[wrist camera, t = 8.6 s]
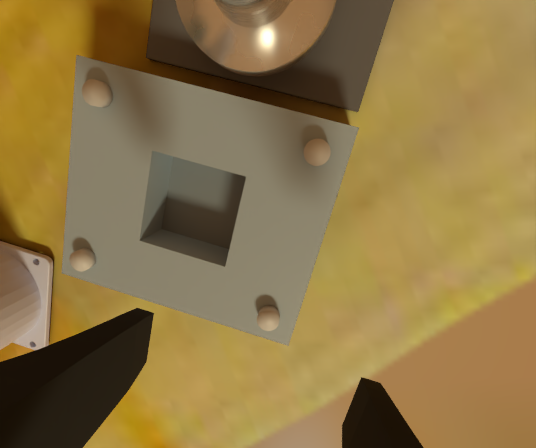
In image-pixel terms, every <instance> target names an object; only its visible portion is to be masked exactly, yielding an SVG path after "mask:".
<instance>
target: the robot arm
mask: <svg viewBox="0 0 536 448" xmlns="http://www.w3.org/2000/svg"><path fill="white" fill-rule="evenodd" d="M38 260H39V261H38ZM52 276H53V261H52V259H51V258H50V257H49V256H47V255H43V254H40V253H37V252H34V251H31V250H28V249H24V248H21V247H18V246H15V245H12V244H9V243H6V242H2V241H0V350H1V349H2V348H4V347H6V346H7V345H9V344H10V343H12V342H13V343H16V344H19V345H21V346H24V347H27V348H30V349H33V350H35V351H33V352H30V353H27V354H24V355H21V356H18V357H15V358H12V359H9V360H5V361H2V362H0V448H83V447H84V445H85V444H86V443H87V442H88V440H89V439H90V438H91V437H92V435H93V434H94V433H95V432H96V430H97V429H98V428H99V427H100V425H101V424H102V423H103V422H104V420H105V419H106V418H107V417H108V415H109V414H110V413H111V412H112V410H113V409H114V408H115V407H116V405H117V404H118V403H119V402H120V400H121V399H122V398H123V396H124V395H125V394H126V393H127V391H128V390H129V389H130V387H131V385H132V384H133V382H134V381H135V379H136V378H137V376H138V375H139V373H140V371H141V370H142V368H143V366H144V365H145V363H146V361H147V354H148V347H149V341H150V334H151V328H152V321H153V315H154V313H152V312H149V311H145V310H142V309H139V308H136V309H134V310H131V311H129V312H126V313H124V314H122V315H120V316H117V317H115V318H113V319H111V320H109V321H106V322H104V323H102V324H100V325H97V326H95V327H93V328H90V329H88V330H86V331H83V332H81V333H79V334H76V335H74V336H71V337H69V338H66V339H64V340H61V341H59V342H56V343H54V344H51V345H49V328H50V310H51V293H52ZM342 448H423V446H422V445H421V443H420V442H419V440H418V439H417V438H416V436H415V435H414V433H413V432H412V430H411V429H410V427H409V426H408V424H407V423H406V421H405V420H404V418H403V417H402V415H401V414H400V412H399V411H398V409H397V408H396V406H395V404H394V403H393V401H392V400H391V398H390V397H389V395H388V394H387V392H386V391H385V389H384V388H383V386H382V385H381V384H380V383H378V382H375V381H372V380H369V379H366V378H362V377H361V380H360V382H359V385H358V387H357V390H356V392H355V395H354V397H353V400H352V402H351V405H350V407H349V410H348V412H347V415H346V417H345V420H344V422H343V425H342Z"/></svg>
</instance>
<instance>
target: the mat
mask: <svg viewBox="0 0 536 448" xmlns="http://www.w3.org/2000/svg"><path fill="white" fill-rule="evenodd" d="M393 1H394V0H336V5H335V9H334V12H333V15H332V18H331V20H330V23H329V25H328V27H327V29H326V31H325V33H324V34H323V36H322V38H321V39H320V41H319V42H318V43H317V45H316V46H315V47H314V48H313V50H312V51H311V52H310V53H308V54H307V55H306V56H305V57H304V58H303V59H302V60H300V61H299V62H298V63H297V64H295V65H293V66H292V67H290V68H288V69H286V70H284V71H281V72H279V73H275V74H272V75H267V76H246V75H241V74H237V73H234V72H231V71H229V70H227V69H225V68H223V67H222V66H220V65H219V64H217V63H216V62H214V61H213V60H212V59H211V58H210V57H209V56H208V55H206V54H205V53H204V52H203V51H202V50H201V49H200V48H199V47H198V46H197V45H196V43H195V42H194V41H193V40H192V38H191V37H190V35H189V34H188V32H187V31H186V29H185V27H184V25H183V23H182V20H181V18H180V15H179V12H178V9H177V5H176V1H175V0H153V6H152V14H151V22H150V29H149V37H148V45H147V53H146V58H148V59H150V60H154V61H158V62H162V63H166V64H170V65H174V66H178V67H182V68H186V69H190V70H194V71H197V72H201V73H205V74H209V75H213V76H217V77H221V78H225V79H229V80H233V81H237V82H241V83H245V84H249V85H253V86H257V87H261V88H265V89H268V90H272V91H276V92H280V93H284V94H288V95H292V96H296V97H300V98H304V99H308V100H312V101H316V102H320V103H324V104H328V105H332V106H336V107H339V108H343V109H347V110H351V111H355V112H358V111H359V108H360V104H361V101H362V98H363V95H364V92H365V89H366V86H367V82H368V79H369V76H370V73H371V70H372V67H373V64H374V61H375V57H376V54H377V51H378V48H379V45H380V42H381V39H382V35H383V32H384V29H385V26H386V23H387V20H388V17H389V13H390V10H391V7H392V4H393Z"/></svg>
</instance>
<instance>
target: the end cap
mask: <svg viewBox="0 0 536 448" xmlns="http://www.w3.org/2000/svg"><path fill="white" fill-rule="evenodd" d="M175 1H176V5H177V9H178V12H179V15H180V18H181V20H182V23H183V25H184V27H185V29H186V31H187V32H188V34H189V35H190V37H191V38H192V40H193V41H194V42H195V43H196V45H197V46H198V47H199V48H200V49H201V50H202V51H203V52H204V53H205V54H206V55H208V56H209V57H210V58H211V59H212V60H213V61H214V62H216V63H217V64H219V65H220V66H222V67H223V68H225V69H227V70H229V71H231V72H234V73H237V74H241V75H246V76H267V75H272V74H275V73H279V72H281V71H284V70H286V69H288V68H290V67H292V66H293V65H295V64H297V63H298V62H299V61H300V60H302V59H303V58H304V57H305V56H306V55H307V54H308V53H310V52H311V51H312V50H313V48H314V47H315V46H316V45H317V43H318V42H319V41H320V39H321V38H322V36H323V34H324V33H325V31H326V29H327V27H328V25H329V23H330V20H331V18H332V15H333V12H334V9H335V5H336V0H175Z"/></svg>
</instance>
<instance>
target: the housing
mask: <svg viewBox="0 0 536 448" xmlns="http://www.w3.org/2000/svg"><path fill="white" fill-rule="evenodd" d="M358 129H359V128H358V127H354V126H351V125H347V124H343V123H339V122H335V121H331V120H327V119H323V118H319V117H316V116H312V115H308V114H304V113H300V112H296V111H292V110H288V109H284V108H281V107H277V106H273V105H269V104H265V103H261V102H257V101H253V100H250V99H246V98H242V97H238V96H234V95H230V94H226V93H222V92H218V91H215V90H211V89H207V88H203V87H199V86H195V85H191V84H187V83H184V82H180V81H176V80H172V79H168V78H164V77H160V76H156V75H152V74H149V73H145V72H141V71H137V70H133V69H129V68H125V67H121V66H117V65H114V64H110V63H106V62H102V61H98V60H94V59H90V58H86V57H83V56H79V55H77V56H76V71H75V86H74V100H73V115H72V130H71V145H70V160H69V174H68V189H67V204H66V219H65V234H64V248H63V263H62V273H63V274H66V275H69V276H72V277H75V278H78V279H81V280H85V281H88V282H91V283H94V284H97V285H100V286H103V287H106V288H110V289H113V290H116V291H119V292H122V293H125V294H128V295H131V296H135V297H138V298H141V299H144V300H147V301H150V302H153V303H156V304H159V305H163V306H166V307H169V308H172V309H175V310H178V311H181V312H184V313H188V314H191V315H194V316H197V317H200V318H203V319H206V320H209V321H213V322H216V323H219V324H222V325H225V326H228V327H231V328H234V329H238V330H241V331H244V332H247V333H250V334H253V335H256V336H259V337H263V338H266V339H269V340H272V341H275V342H278V343H281V344H284V345H289V342H290V339H291V336H292V333H293V330H294V327H295V324H296V321H297V317H298V314H299V311H300V308H301V305H302V302H303V299H304V296H305V293H306V290H307V287H308V283H309V280H310V277H311V274H312V271H313V268H314V265H315V262H316V259H317V256H318V253H319V250H320V246H321V243H322V240H323V237H324V234H325V231H326V228H327V225H328V222H329V219H330V216H331V212H332V209H333V206H334V203H335V200H336V197H337V194H338V191H339V188H340V185H341V182H342V178H343V175H344V172H345V169H346V166H347V163H348V160H349V157H350V154H351V151H352V148H353V144H354V141H355V138H356V135H357V132H358Z"/></svg>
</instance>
